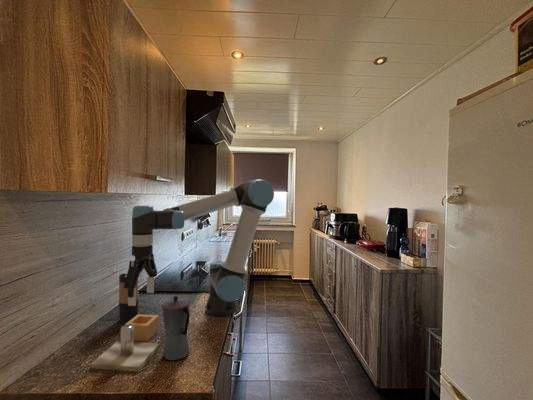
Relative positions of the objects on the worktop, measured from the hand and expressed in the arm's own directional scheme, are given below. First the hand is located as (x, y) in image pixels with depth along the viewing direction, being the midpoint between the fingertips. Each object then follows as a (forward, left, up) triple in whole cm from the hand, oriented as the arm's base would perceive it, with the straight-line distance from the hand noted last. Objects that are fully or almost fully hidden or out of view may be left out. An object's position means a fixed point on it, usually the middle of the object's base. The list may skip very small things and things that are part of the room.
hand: (141, 298), depth 111 cm
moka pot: (+11, +19, -15) cm, 27 cm away
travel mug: (-12, -13, -15) cm, 23 cm away
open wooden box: (0, 0, -15) cm, 15 cm away
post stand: (+15, +3, -15) cm, 21 cm away
